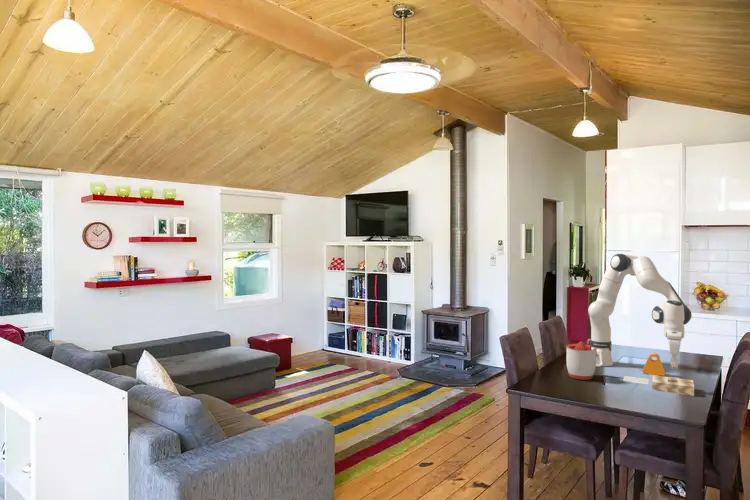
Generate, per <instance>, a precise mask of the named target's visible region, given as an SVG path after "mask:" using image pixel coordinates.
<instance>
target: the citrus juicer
mask: <svg viewBox="0 0 750 500" xmlns="http://www.w3.org/2000/svg"><path fill="white" fill-rule="evenodd" d="M565 347H566V358H565V359H566V360H565V361H566V369H567V372H568V375H569V377H570V378H572V379H576V380H578V381H579V380H581V381H583V380H584V381H585V380H587V381H588V380H592V379H593V377H594V376H595V371H596V367H597V366H596V357H597V356H598V357H599V355H598V354H597V348H595V349H593V350H591V346H590V345H587V344H586V343H584V342H583V341H579V342H578V343H569V344H566V346H565Z"/></svg>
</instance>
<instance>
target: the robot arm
mask: <svg viewBox="0 0 750 500" xmlns="http://www.w3.org/2000/svg"><path fill="white" fill-rule="evenodd" d="M609 263H610V264H609V265H608V266H607V268H606V270H605V272H604V274H603V276H602V279H601V282H600V284H599V287H598V292H597V293H598V294H597V298H596V300H595V301H593V302H591V303H590V304H589V306H588V309H587V311H588V316H589V322H590V338H588V339H587V344H586V345H590V346H591V350H593V349H595V348H597V354H598V355H599V357H598V356H597V357H596V367H599V368H600V367H612V366H614V363H613V358H612V349H613V348H612V346H613V345H612V327H611V325H610V316H611V315H612V314H613V313H614V311H615V306H616V303H617V299H618V295H619V293H620V290H621V287H622V285H623V282H624V280H625V277H626V275H631V276H634V277H636V279H637V282H638V283H639V285H640V286H641V287H642V288H643V289H645V290H647V291H651V292H655V293H658V294H661V295H663V296H664V297H665V298H666V301H665V302H664V303H663V304H660V305H656V306H654V307H653V309H652V311H651V318H652V320H653V321H654V322H655V323H657V324H660V325H661V324H662V325H664V326H663V336H664V337H666V339H667V342H668V349H669V354H670V355H671V354H672V361H674V362H676V356H677V355H678V356H679V355H680V348H681V347H680V346H681V341H682V340H683V338H685V325H687V324H688V323H689V322H690V321H691V319H692V312H691V309H690V308H689V307H688V306H687V305H686V304H685V303H684V301H683V300H682V299H681V297H680V296H679V294H678V292H677V291H676V289H675V288H674V287H673V285H672V284H671V283H670V282H669V281H668V280H666V278H664V277H662V276H661V274H660V273H659V271H658V269H657V267H656V265H655V263H654V262H653V260H651V258H650V257H648V256H646V255H642V256H635V255H629V254H624V253H616V254H614V255H612V257H611V259H610V262H609Z"/></svg>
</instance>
